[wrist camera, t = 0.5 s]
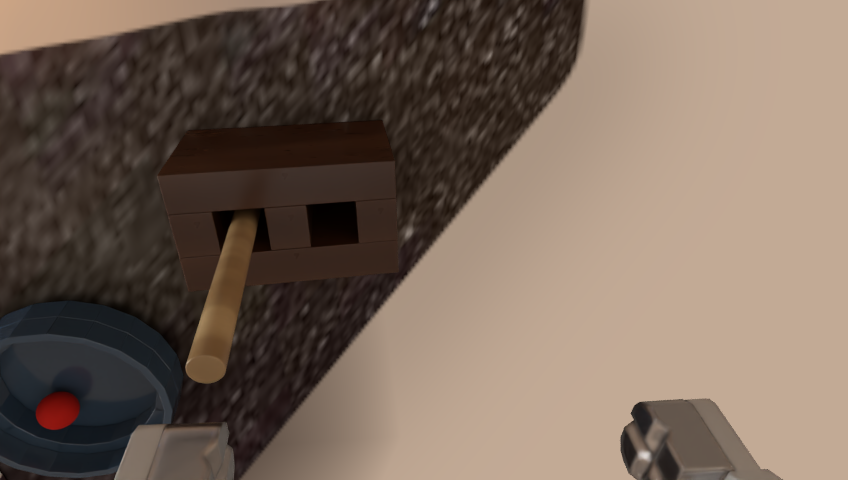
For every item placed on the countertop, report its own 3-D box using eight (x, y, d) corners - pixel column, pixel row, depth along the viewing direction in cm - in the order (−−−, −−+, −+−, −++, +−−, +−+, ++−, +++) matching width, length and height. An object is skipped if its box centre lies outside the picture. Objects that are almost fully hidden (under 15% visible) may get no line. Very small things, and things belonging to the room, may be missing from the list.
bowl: (-51, 303, 41) (-95, 347, 36) (161, 284, 43) (143, 324, 38) (25, 440, 48) (-4, 489, 44) (201, 418, 50) (190, 463, 46)
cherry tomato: (40, 386, 44) (22, 414, 42) (79, 381, 45) (64, 409, 42) (52, 411, 46) (36, 440, 43) (90, 407, 46) (76, 435, 44)
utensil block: (187, 130, 37) (156, 175, 30) (382, 119, 39) (395, 160, 32) (210, 231, 41) (188, 291, 34) (386, 217, 43) (398, 272, 36)
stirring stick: (243, 170, 39) (181, 357, 22) (265, 168, 39) (221, 353, 22) (246, 190, 40) (189, 385, 23) (268, 188, 40) (228, 381, 23)
